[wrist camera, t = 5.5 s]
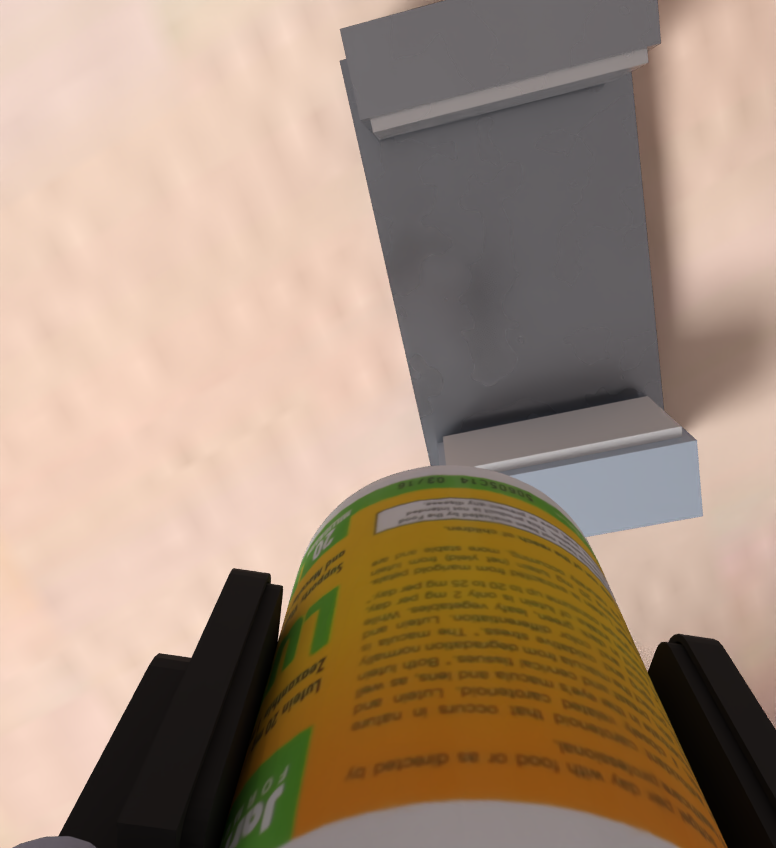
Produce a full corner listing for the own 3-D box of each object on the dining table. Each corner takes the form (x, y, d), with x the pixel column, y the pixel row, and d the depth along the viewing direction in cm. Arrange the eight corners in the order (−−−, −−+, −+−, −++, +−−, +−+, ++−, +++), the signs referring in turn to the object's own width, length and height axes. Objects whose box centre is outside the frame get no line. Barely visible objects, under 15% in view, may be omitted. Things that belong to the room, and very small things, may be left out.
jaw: (667, 547, 29) (710, 608, 25) (467, 582, 30) (476, 646, 26) (651, 391, 27) (695, 429, 23) (435, 434, 28) (439, 479, 24)
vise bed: (656, 448, 30) (713, 509, 24) (438, 490, 31) (443, 558, 25) (610, -4, 24) (671, -62, 18) (343, 67, 25) (323, 33, 19)
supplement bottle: (307, 437, 11) (-177, 1673, 2) (628, 474, 11) (1566, 1859, 2) (291, 688, 13) (8, 1870, 4) (562, 719, 13) (889, 1965, 4)
